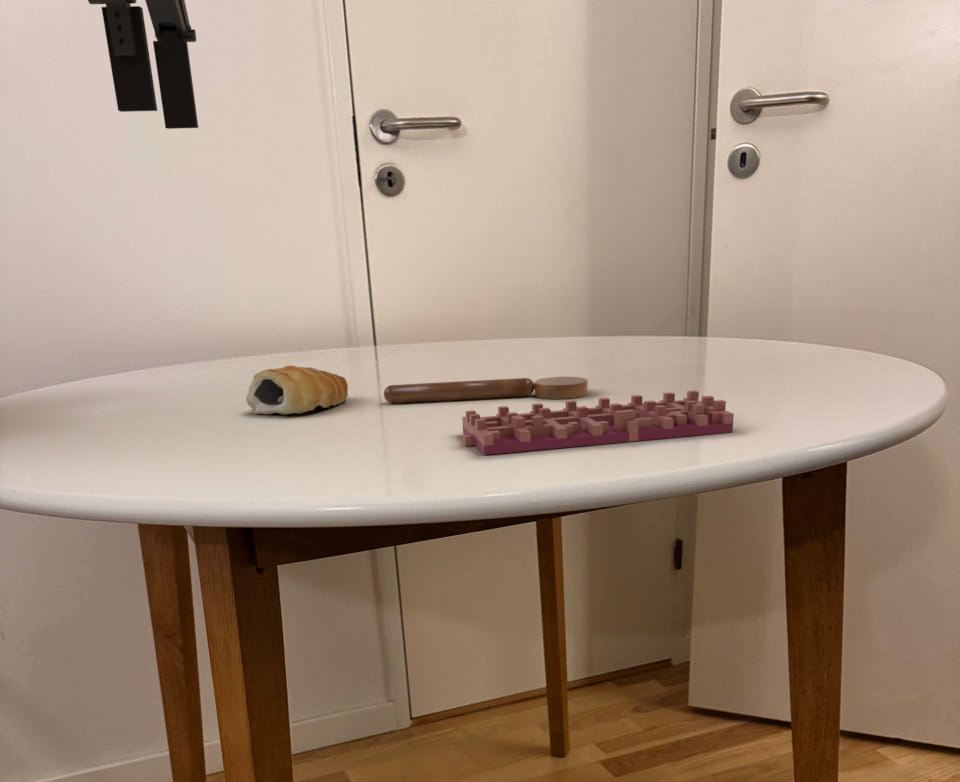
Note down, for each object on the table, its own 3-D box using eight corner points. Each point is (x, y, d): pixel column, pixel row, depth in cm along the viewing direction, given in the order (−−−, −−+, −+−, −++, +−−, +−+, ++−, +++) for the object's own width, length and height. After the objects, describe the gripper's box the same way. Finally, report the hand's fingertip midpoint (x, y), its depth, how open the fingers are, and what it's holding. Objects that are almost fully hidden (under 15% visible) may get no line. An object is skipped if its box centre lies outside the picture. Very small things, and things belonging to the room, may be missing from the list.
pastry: (313, 396, 89) (309, 354, 88) (368, 401, 86) (365, 358, 84) (241, 413, 82) (235, 369, 81) (298, 419, 79) (292, 373, 77)
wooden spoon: (383, 408, 82) (381, 389, 81) (385, 399, 86) (384, 381, 86) (591, 397, 82) (591, 378, 82) (583, 388, 87) (583, 371, 86)
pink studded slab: (454, 435, 70) (453, 408, 69) (690, 414, 74) (691, 389, 73) (475, 455, 64) (473, 426, 63) (732, 432, 67) (734, 404, 66)
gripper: (111, -305, 56) (169, 100, 65) (203, -152, 79) (236, 132, 88) (-15, -303, 56) (59, 103, 65) (113, -151, 79) (156, 134, 87)
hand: (161, 120), depth 76 cm, fingers open, 13 cm apart
